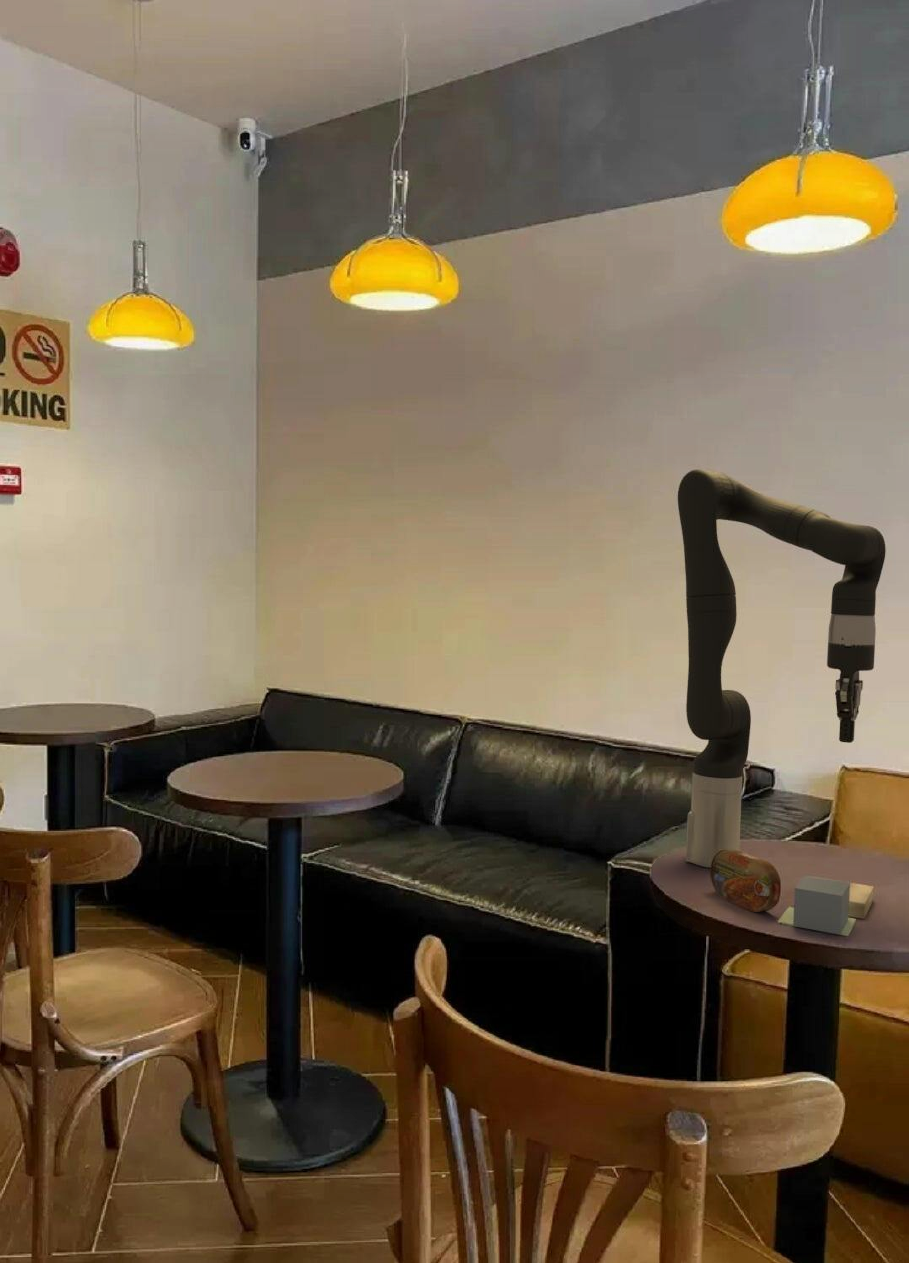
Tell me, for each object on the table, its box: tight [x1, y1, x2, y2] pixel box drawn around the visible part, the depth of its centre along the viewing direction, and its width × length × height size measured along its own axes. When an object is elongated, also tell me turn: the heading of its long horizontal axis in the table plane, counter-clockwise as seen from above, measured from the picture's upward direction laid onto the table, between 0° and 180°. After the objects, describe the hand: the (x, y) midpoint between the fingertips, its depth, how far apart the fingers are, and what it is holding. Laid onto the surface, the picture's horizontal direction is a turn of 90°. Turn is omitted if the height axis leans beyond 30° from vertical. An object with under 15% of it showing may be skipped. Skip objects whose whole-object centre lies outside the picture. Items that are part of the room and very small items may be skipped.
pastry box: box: [792, 875, 851, 935], centre depth 159 cm, size 7×8×6 cm
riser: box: [794, 876, 875, 920], centre depth 170 cm, size 11×11×2 cm
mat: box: [777, 906, 857, 937], centre depth 161 cm, size 10×8×1 cm
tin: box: [709, 850, 782, 913], centre depth 169 cm, size 15×3×8 cm, turn 24°
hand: (846, 741), depth 173 cm, fingers closed
